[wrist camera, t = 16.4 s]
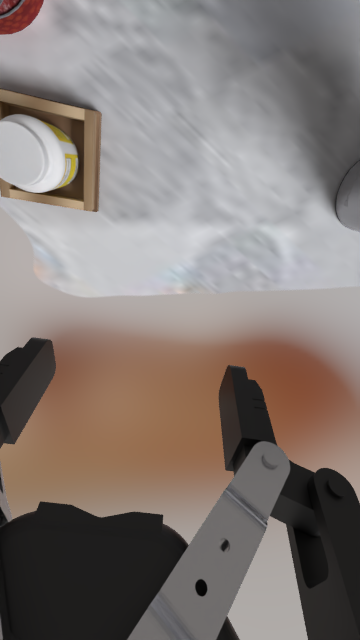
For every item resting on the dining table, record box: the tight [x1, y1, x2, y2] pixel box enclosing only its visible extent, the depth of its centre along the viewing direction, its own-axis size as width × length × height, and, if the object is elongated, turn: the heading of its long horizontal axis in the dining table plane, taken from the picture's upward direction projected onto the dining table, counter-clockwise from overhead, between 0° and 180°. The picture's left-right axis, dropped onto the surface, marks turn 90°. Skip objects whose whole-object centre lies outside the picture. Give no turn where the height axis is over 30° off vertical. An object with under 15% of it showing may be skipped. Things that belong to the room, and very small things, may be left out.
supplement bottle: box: [0, 114, 80, 193], centre depth 23 cm, size 5×5×10 cm
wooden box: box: [0, 88, 101, 212], centre depth 27 cm, size 9×9×3 cm
